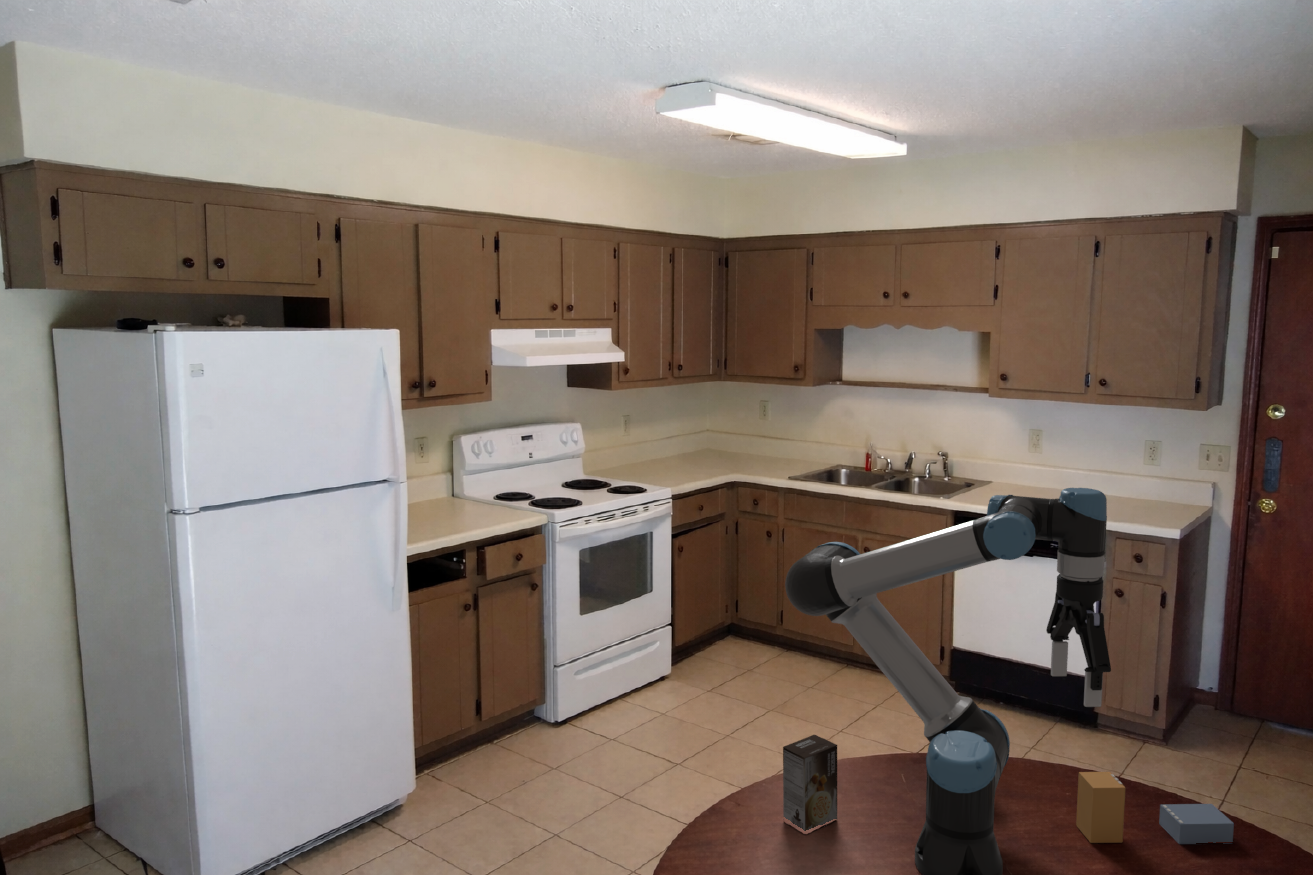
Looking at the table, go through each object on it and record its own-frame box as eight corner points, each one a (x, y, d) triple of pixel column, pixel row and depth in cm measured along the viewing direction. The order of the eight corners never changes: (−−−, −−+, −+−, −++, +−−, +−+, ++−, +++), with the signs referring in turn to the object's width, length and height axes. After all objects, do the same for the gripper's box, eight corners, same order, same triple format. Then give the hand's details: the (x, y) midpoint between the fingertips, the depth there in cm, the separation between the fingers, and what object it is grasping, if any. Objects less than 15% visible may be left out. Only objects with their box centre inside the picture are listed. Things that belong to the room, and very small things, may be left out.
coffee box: (814, 807, 189) (815, 732, 187) (838, 820, 184) (839, 744, 181) (781, 822, 183) (782, 745, 181) (805, 836, 178) (805, 758, 176)
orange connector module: (1107, 824, 180) (1110, 770, 179) (1122, 842, 174) (1125, 786, 173) (1076, 825, 180) (1078, 771, 179) (1090, 842, 174) (1093, 787, 173)
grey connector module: (1210, 822, 181) (1211, 803, 180) (1232, 843, 174) (1233, 822, 173) (1159, 823, 181) (1160, 803, 180) (1179, 843, 174) (1180, 823, 173)
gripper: (1137, 596, 152) (1130, 719, 155) (1070, 557, 177) (1065, 663, 179) (1091, 597, 152) (1085, 720, 155) (1030, 557, 177) (1026, 664, 179)
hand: (1074, 690), depth 167 cm, fingers open, 13 cm apart
